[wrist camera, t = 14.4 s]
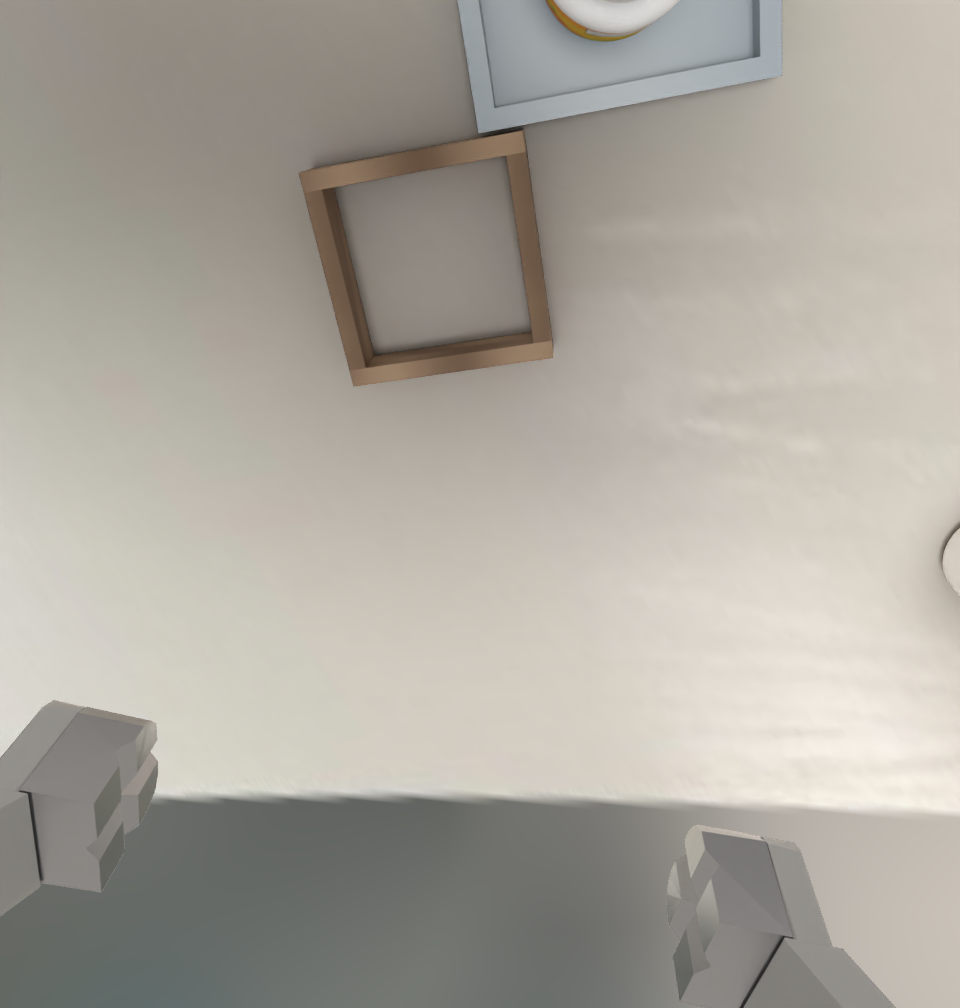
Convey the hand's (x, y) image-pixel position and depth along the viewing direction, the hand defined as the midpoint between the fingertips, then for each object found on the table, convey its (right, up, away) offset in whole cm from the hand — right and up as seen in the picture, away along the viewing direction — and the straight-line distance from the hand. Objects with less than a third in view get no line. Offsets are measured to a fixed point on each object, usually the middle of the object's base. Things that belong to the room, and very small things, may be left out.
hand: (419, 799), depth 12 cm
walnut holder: (-1, +16, +25) cm, 29 cm away
